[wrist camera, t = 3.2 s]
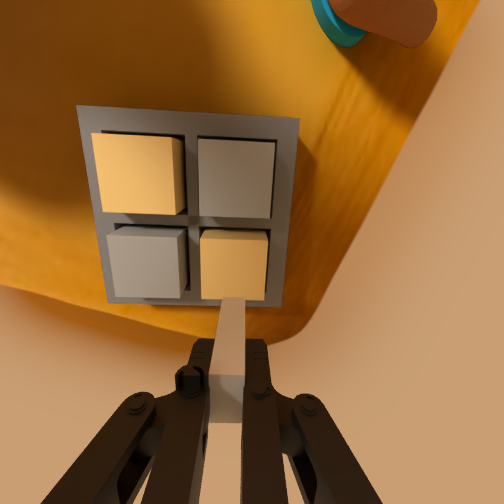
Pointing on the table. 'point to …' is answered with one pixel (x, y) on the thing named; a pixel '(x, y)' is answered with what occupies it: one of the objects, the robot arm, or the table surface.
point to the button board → (197, 188)
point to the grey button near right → (235, 178)
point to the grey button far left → (149, 261)
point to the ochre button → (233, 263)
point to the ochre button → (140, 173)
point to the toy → (376, 20)
